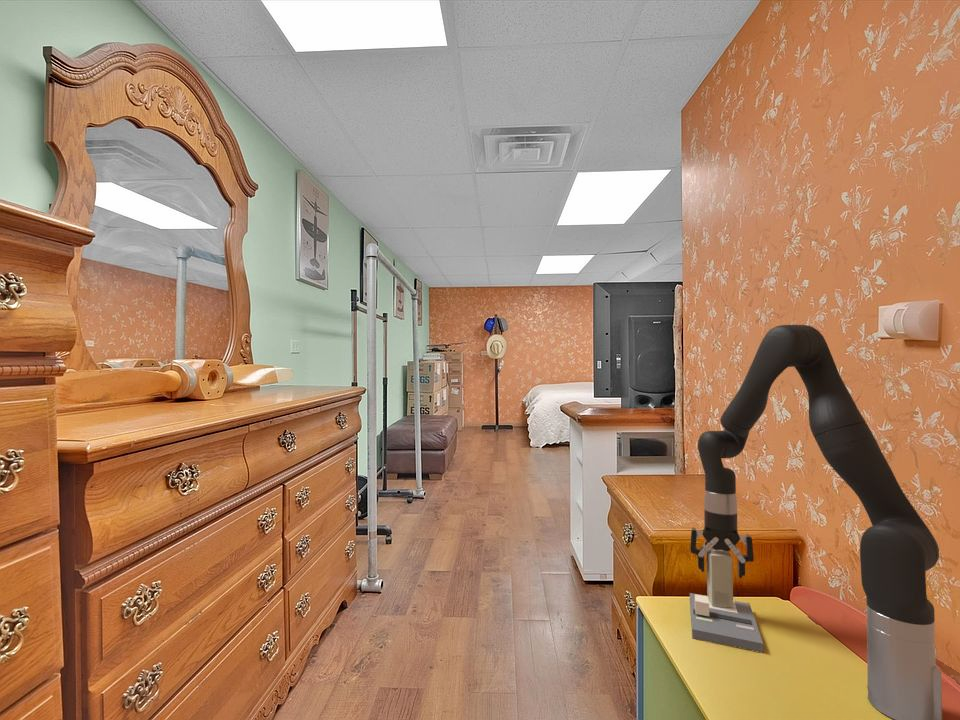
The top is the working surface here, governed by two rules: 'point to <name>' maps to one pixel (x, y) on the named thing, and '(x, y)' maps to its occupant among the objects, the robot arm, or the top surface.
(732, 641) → the switch board
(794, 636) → the top surface
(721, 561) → the box
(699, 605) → the tab
